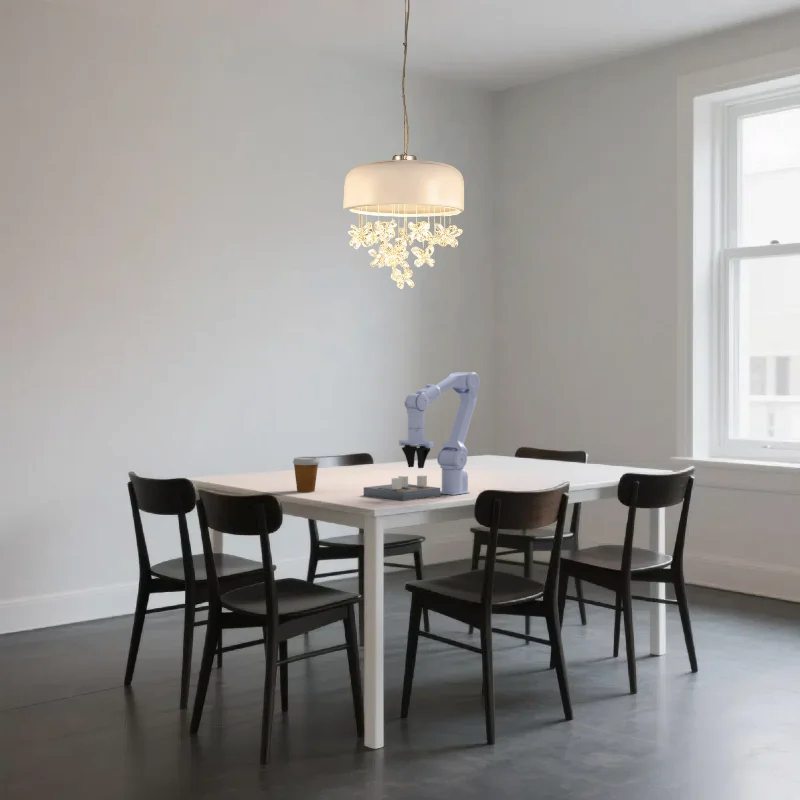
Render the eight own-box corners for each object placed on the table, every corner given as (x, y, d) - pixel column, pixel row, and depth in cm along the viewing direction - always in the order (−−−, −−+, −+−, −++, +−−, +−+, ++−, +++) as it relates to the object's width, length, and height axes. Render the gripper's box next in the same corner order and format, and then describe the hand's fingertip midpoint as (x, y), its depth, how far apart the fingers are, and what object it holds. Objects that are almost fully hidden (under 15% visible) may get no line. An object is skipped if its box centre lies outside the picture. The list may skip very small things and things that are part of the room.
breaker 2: (421, 485, 368) (421, 475, 368) (426, 485, 367) (426, 475, 367) (417, 485, 367) (417, 475, 366) (422, 486, 365) (422, 476, 365)
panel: (400, 491, 378) (400, 482, 378) (440, 496, 365) (440, 487, 365) (363, 495, 364) (363, 486, 364) (403, 500, 351) (403, 491, 351)
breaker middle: (402, 485, 366) (403, 475, 366) (407, 486, 364) (408, 476, 364) (398, 486, 364) (398, 476, 364) (403, 486, 362) (403, 476, 362)
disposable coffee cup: (311, 493, 369) (312, 459, 369) (287, 492, 372) (288, 458, 372) (323, 490, 378) (323, 457, 377) (300, 489, 381) (300, 456, 381)
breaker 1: (396, 487, 359) (396, 477, 359) (401, 488, 357) (401, 478, 357) (391, 488, 357) (391, 478, 357) (396, 489, 356) (396, 478, 355)
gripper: (393, 427, 361) (392, 466, 362) (424, 429, 351) (423, 469, 352) (406, 427, 366) (406, 465, 367) (437, 429, 356) (437, 468, 357)
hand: (415, 467), depth 360 cm, fingers open, 4 cm apart
